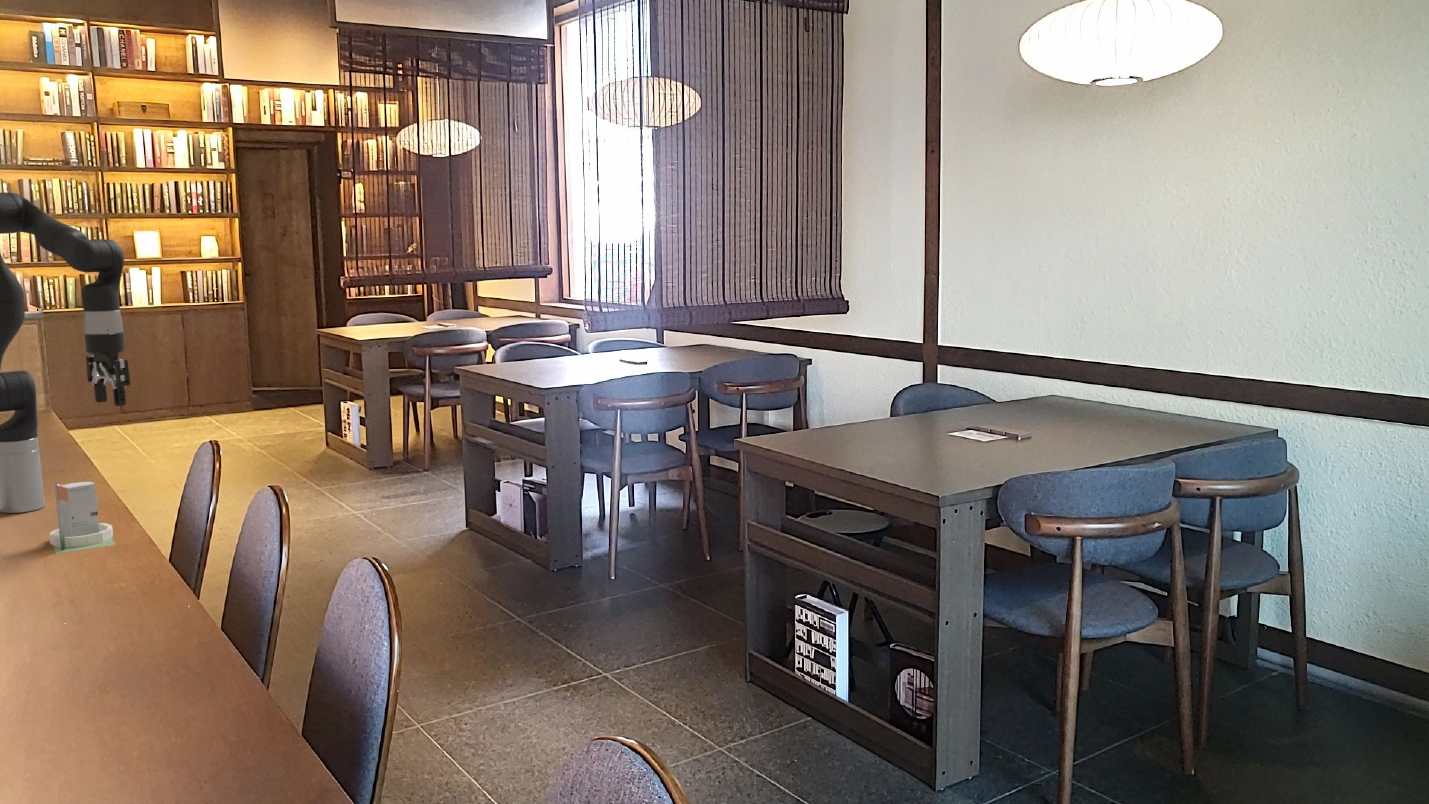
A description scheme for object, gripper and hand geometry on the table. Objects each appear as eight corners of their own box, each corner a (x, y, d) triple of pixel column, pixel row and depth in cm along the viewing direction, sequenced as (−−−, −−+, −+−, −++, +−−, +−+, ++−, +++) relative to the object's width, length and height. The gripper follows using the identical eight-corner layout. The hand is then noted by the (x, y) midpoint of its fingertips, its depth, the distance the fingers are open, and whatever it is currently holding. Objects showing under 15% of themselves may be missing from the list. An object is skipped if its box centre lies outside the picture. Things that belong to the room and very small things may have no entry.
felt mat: (49, 535, 243) (49, 533, 243) (106, 527, 249) (106, 526, 249) (55, 555, 228) (55, 553, 228) (115, 546, 234) (115, 544, 234)
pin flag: (60, 549, 231) (53, 484, 228) (64, 548, 231) (57, 483, 229) (71, 553, 228) (64, 487, 226) (75, 552, 228) (68, 486, 226)
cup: (40, 541, 237) (39, 532, 237) (96, 529, 246) (95, 520, 246) (66, 550, 230) (65, 540, 230) (122, 537, 240) (121, 528, 239)
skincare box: (71, 543, 235) (65, 488, 233) (62, 540, 238) (56, 485, 236) (101, 537, 240) (96, 483, 238) (93, 534, 242) (87, 480, 240)
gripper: (70, 330, 244) (77, 403, 247) (102, 334, 236) (109, 409, 239) (105, 328, 250) (112, 398, 253) (137, 331, 242) (143, 404, 245)
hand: (110, 403), depth 246 cm, fingers open, 8 cm apart
